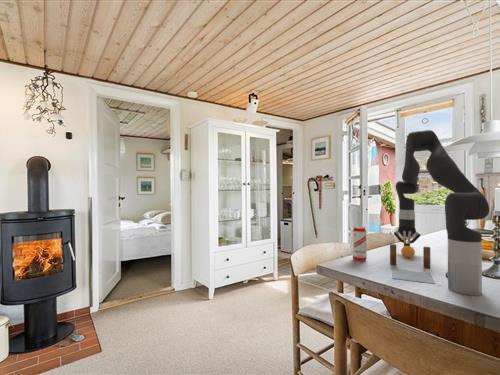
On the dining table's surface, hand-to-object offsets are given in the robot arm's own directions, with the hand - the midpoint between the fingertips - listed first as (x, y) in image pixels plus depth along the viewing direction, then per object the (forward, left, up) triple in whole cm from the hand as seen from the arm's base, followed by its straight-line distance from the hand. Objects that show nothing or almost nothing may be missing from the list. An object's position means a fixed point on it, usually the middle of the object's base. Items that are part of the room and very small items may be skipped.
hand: (406, 250), depth 149 cm
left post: (-27, +7, -2) cm, 28 cm away
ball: (-11, 0, +2) cm, 11 cm away
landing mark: (-43, 0, -2) cm, 43 cm away
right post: (-27, -7, -2) cm, 28 cm away
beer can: (-27, +21, -2) cm, 34 cm away
